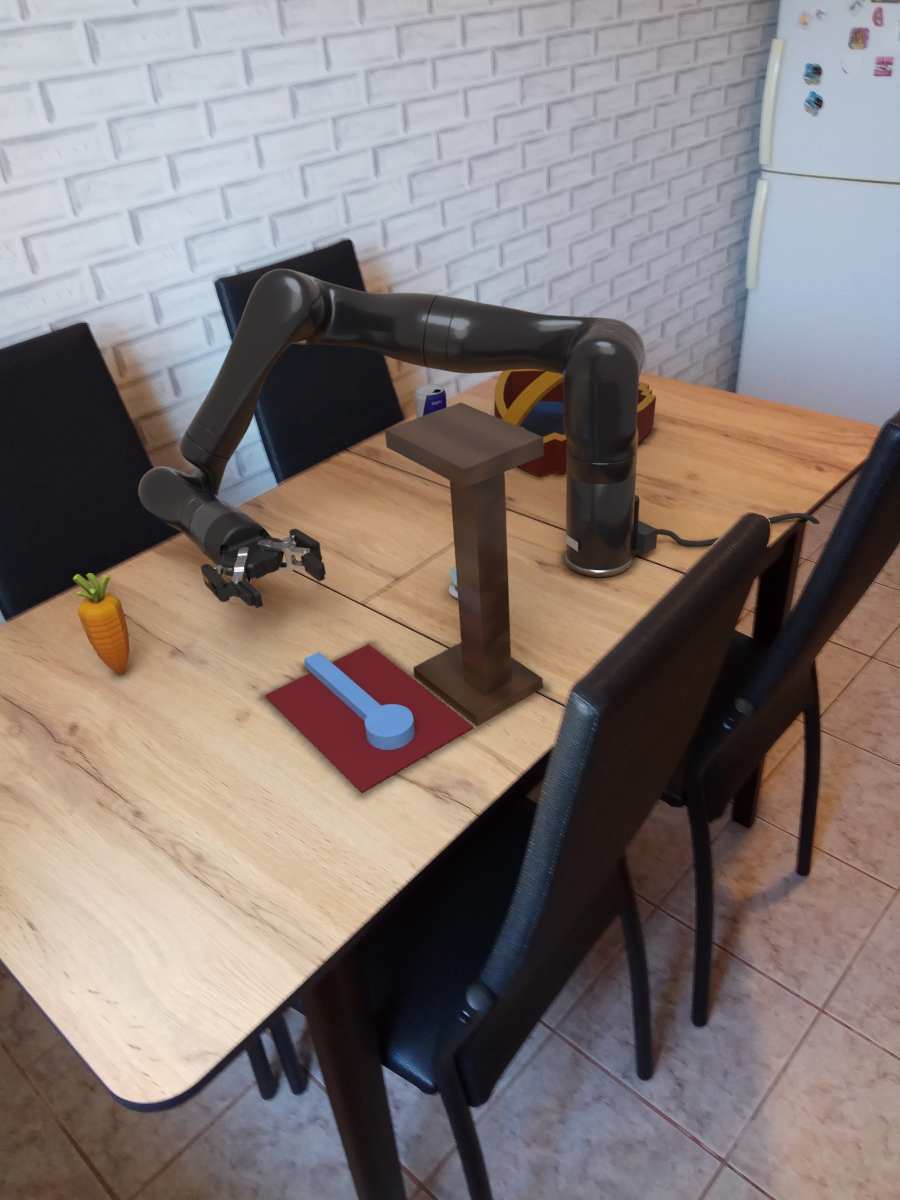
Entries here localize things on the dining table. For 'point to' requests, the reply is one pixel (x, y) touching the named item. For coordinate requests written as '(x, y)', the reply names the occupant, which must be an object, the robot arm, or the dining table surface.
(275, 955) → the dining table surface
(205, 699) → the dining table surface
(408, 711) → the blue disc paddle
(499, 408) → the decorative basket
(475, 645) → the stand
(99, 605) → the carrot
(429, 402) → the energy drink
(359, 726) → the cloth
